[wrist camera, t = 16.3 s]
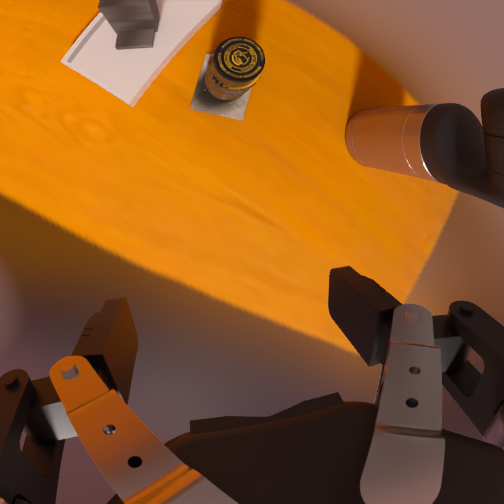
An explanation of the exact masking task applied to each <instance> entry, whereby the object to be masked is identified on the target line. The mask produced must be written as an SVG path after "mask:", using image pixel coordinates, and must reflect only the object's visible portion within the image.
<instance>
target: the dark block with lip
mask: <svg viewBox="0 0 504 504" xmlns="http://www.w3.org/2000/svg"><path fill="white" fill-rule="evenodd" d="M98 8H99V10H100V11H101V13H102V14H103V15H104V17H105V18H106V20H107V21H108V23H109V24H110V25H111V27H112V28H113V30H114V31H115V32H116V34H117V38H116V44H115V48H116V49H117V50H124V49H137V48H153V43H154V35H155V32H158V26H159V20H160V15H159V11H158V7H157V2H156V0H100V2H99V6H98Z"/></svg>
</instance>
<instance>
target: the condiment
mask: <svg viewBox="0 0 504 504" xmlns="http://www.w3.org/2000/svg"><path fill="white" fill-rule="evenodd" d="M264 65H265V57H264V53H263V50H262V48H261V47H260V46H259V45H258V44H257V43H256V42H255V41H253V40H251V39H248V38H245V37H233V38H229V39H227V40H225V41H223V42H222V43H220V45H219V46H218V47H217V48H216V49H215V50H214V51H213V52H212V54H207V53H206V56H205V59H204V63H203V66H202V69H201V73H200V76H199V79H198V83H197V86H196V90H195V93H194V97H193V101H192V104H191V108H190V109H193V110H198V111H202V112H207V113H212V114H216V115H221V116H225V117H229V118H233V119H238V120H242V121H243V117H244V113H245V110H246V106H247V102H248V98H249V95H250V91H251V87H252V86H254V85H255V84H256V82H257V81H258V79H259V78H260V76H261V74H262V70H263V68H264ZM204 89H206V91H205V90H204ZM232 101H234V102H233V103H232V104H230V105H229V103H231V102H232Z"/></svg>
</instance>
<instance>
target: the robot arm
mask: <svg viewBox="0 0 504 504" xmlns="http://www.w3.org/2000/svg"><path fill="white" fill-rule="evenodd" d="M481 117H482V125H483V127H482V125H481V123H480V122H479V120H478V119H477V117H476V116H475V115H474V114H473V112H472V111H470V110H469V109H468V108H466V107H465V106H462V105H460V104H455V103H446V104H445V103H444V104H424V105H411V106H399V107H389V108H378V109H370V110H363V111H360V112H358V113H356V114H355V115H354V116H353V117H352V118H351V119H350V120H349V122H348V125H347V128H346V133H345V140H346V145H347V148H348V151H349V153H350V154H351V156H352V157H353V158H354V160H356V161H357V162H358V163H359V164H361V165H363V166H367V167H372V168H377V169H381V170H386V171H391V172H396V173H400V174H405V175H409V176H413V177H418V178H422V179H427V180H431V181H435V182H439V183H443V184H446V185H448V186H449V187H451V188H453V189H455V190H458V191H461V192H464V193H467V194H470V195H473V196H475V197H478V198H481V199H483V200H486V201H488V202H490V203H493V204H495V205H497V206H499V207H502V208H504V88H501V89H496V90H492V91H490V92H488V93H486V94H485V95H484V96H483V97H482V99H481ZM328 308H329V313H330V315H331V317H332V319H333V320H334V321H335V323H336V324H337V325H338V327H339V328H340V329H341V331H342V332H343V333H344V334H345V336H346V337H347V338H348V340H349V341H350V342H351V344H352V345H353V346H354V348H355V349H356V350H357V352H358V353H359V354H360V356H361V357H362V358H363V359H364V361H365V362H366V363H367V365H368V366H373V365H376V364H379V363H381V364H382V365H383V366H382V370H381V374H380V379H379V384H378V389H377V393H376V397H375V402H374V404H372V403H366V402H357V401H345V402H343V400H342V398H341V397H340V395H339V393H338V392H337V393H333V394H330V395H326V396H322V397H318V398H314V399H311V400H306V401H303V402H301V403H299V404H297V405H295V406H292V407H290V408H288V409H286V410H283V411H281V412H279V413H277V414H274V415H272V416H268V417H241V416H238V417H236V416H224V417H217V418H209V419H200V420H191V421H190V432H187V433H184V434H182V435H179V436H177V437H175V438H173V439H171V440H169V441H168V442H166V443H165V444H163V443H162V442H161V441H160V440H159V439H158V438H157V437H156V436H155V435H154V434H153V433H152V432H151V431H150V430H149V429H148V428H147V426H146V425H145V424H144V423H143V422H142V421H141V420H140V419H139V418H138V417H137V416H136V415H135V413H134V412H133V411H132V410H131V409H130V408H129V407H128V399H129V393H130V386H131V381H132V376H133V370H134V365H135V359H136V354H137V349H138V337H137V332H136V329H135V325H134V322H133V318H132V315H131V311H130V308H129V304H128V301H127V299H126V298H125V297H122V298H114V299H107V300H106V301H105V303H104V306H103V308H102V310H101V312H100V313H95V314H94V315H93V316H92V317H91V318H90V319H89V320H88V321H87V324H86V325H85V327H84V330H83V332H82V334H81V337H80V338H79V340H78V342H77V344H76V347H75V349H74V351H73V353H72V355H71V356H69V357H66V358H63V359H61V360H60V361H58V362H57V363H55V364H54V366H53V367H52V369H51V370H50V376H49V377H46V378H41V379H38V380H33V381H31V379H30V378H29V375H28V374H27V372H25V371H24V370H21V369H15V370H12V371H9V372H7V373H6V374H4V375H3V376H1V377H0V504H55V503H56V494H57V485H58V479H59V472H60V466H61V460H62V453H63V449H64V443H65V439H66V438H71V437H75V436H79V438H80V440H81V441H82V443H83V445H84V446H85V448H86V450H87V451H88V453H89V454H90V456H91V458H92V459H93V461H94V462H95V464H96V465H97V467H98V468H99V470H100V471H101V473H102V474H103V475H104V477H105V478H106V480H107V481H108V482H109V484H110V485H111V487H112V488H113V489H114V491H116V494H115V495H114V496H113V497H112V498H111V500H110V501H108V502H107V504H504V326H502V325H501V324H500V323H499V322H497V321H496V320H495V319H494V318H492V317H491V316H490V315H488V314H487V313H486V312H485V311H484V310H482V309H481V308H480V307H478V306H477V305H475V304H473V303H471V302H467V301H455V302H453V303H451V305H450V307H449V311H448V314H447V315H439V316H432V314H431V312H430V311H429V310H428V309H426V308H424V307H422V306H420V305H416V304H403V305H402V304H401V303H400V302H399V301H398V300H397V299H395V298H394V297H393V296H392V295H391V294H389V293H388V292H386V290H385V289H384V288H382V287H380V285H379V284H377V283H376V282H375V281H374V280H372V279H370V278H367V277H365V276H363V275H362V276H361V275H360V274H359V273H357V272H356V271H355V270H354V269H353V268H351V267H350V266H346V267H340V268H334V269H331V271H330V275H329V297H328ZM471 349H474V350H475V351H476V352H477V353H478V354H479V355H480V356H481V357H482V359H483V361H484V366H485V367H484V372H483V374H482V375H481V374H480V373H479V372H478V371H477V369H475V368H474V366H473V365H472V364H471V363H470V362H469V361H468V360H467V359H468V357H469V354H470V352H471ZM442 385H443V386H444V387H445V388H446V390H447V391H448V392H449V393H450V395H451V396H452V397H453V398H454V400H455V401H456V402H457V403H458V404H459V406H460V407H461V408H462V410H463V411H464V412H465V414H466V415H467V416H468V417H469V418H470V420H471V421H472V423H473V424H474V425H475V426H476V428H477V429H478V430H479V432H480V433H481V434H482V436H483V439H484V441H480V440H477V439H473V438H470V437H467V436H463V435H460V434H457V433H454V432H451V431H448V430H445V429H442V428H441V422H442V421H441V420H442ZM23 430H24V431H25V432H26V433H27V436H26V439H25V442H24V446H23V449H22V452H21V450H20V437H21V434H22V431H23Z"/></svg>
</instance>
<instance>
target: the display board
mask: <svg viewBox="0 0 504 504" xmlns="http://www.w3.org/2000/svg"><path fill="white" fill-rule="evenodd" d="M156 2H157V7H158V11H159V15H160V20H159V26H158V32H155V35H154V43H153V48H137V49H124V50H117V49H116V48H115V44H116V38H117V34H116V32H115V31H114V30H113V28H112V27H111V25H110V24H109V23H108V21H107V20H106V18H105V17H104V15H103V14H102V13H101V12H100V13H99V14H98V15H97V16H96V17H95V18H94V20H93V21H92V22H91V23H90V24H89V25H88V27H87V28H86V29H85V30H84V31H83V33H82V34H81V35H80V36H79V38H78V39H77V40H76V41H75V43H74V44H73V45H72V47H71V48H70V49H69V51H68V52H67V53H66V55H65V56H64V57H63V59H62V60H61V62H62V63H63V64H65V65H67V66H68V67H70V68H72V69H73V70H75V71H77V72H78V73H80V74H82V75H83V76H85V77H86V78H88V79H90V80H91V81H93V82H94V83H96V84H98V85H99V86H101V87H102V88H104V89H106V90H107V91H109V92H110V93H112V94H113V95H115V96H116V97H118V98H120V99H121V100H123V101H124V102H126V103H127V104H129V105H130V106H132V107H134V105H135V104H136V103H137V101H138V100H139V99H140V97H141V96H142V95H143V94H144V92H145V91H146V90H147V88H148V87H149V86H150V85H151V83H152V82H153V81H154V80H155V78H156V77H157V76H158V75H159V73H160V72H161V71H162V70H163V69H164V67H165V66H166V65H167V64H168V63H169V62H170V60H171V59H172V58H173V57H174V56H175V55H176V54H177V52H178V51H179V50H180V49H181V48H182V47H183V46H184V45H185V44H186V43H187V41H188V40H189V39H190V38H191V37H192V36H193V35H194V34H195V33H196V32H197V31H198V30H199V29H200V28H201V27H202V26H203V25H204V24H205V23H206V22H207V21H208V20H209V19H210V18H211V17H212V16H213V15H214V14H215V13H216V12H217V11H218V10H219V9H220V8H221V4H222V0H156Z"/></svg>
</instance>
